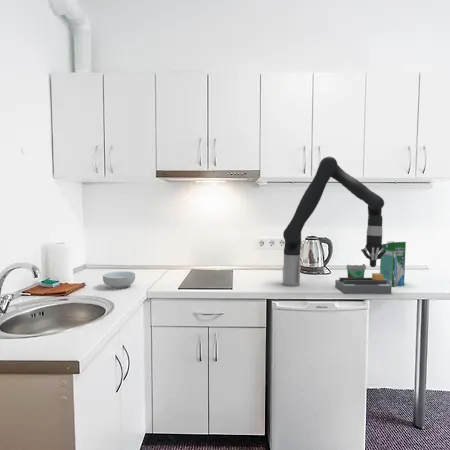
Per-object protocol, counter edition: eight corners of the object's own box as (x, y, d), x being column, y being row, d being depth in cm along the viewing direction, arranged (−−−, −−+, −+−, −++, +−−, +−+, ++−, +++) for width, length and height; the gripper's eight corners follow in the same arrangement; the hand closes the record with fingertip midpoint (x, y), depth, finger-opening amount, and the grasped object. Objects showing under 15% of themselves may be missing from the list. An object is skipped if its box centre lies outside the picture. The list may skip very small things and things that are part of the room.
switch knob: (375, 283, 173) (375, 274, 173) (371, 281, 177) (372, 273, 177) (383, 283, 173) (383, 274, 173) (379, 281, 177) (379, 273, 177)
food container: (352, 283, 191) (352, 266, 190) (345, 281, 197) (346, 264, 196) (370, 282, 194) (370, 265, 194) (363, 280, 200) (363, 263, 199)
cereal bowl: (101, 291, 170) (101, 278, 170) (104, 284, 186) (103, 272, 186) (135, 289, 175) (135, 276, 175) (135, 282, 191) (135, 270, 191)
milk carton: (391, 281, 195) (392, 239, 194) (404, 285, 187) (405, 241, 186) (379, 283, 192) (380, 240, 191) (392, 286, 184) (393, 242, 182)
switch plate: (344, 293, 168) (344, 282, 168) (335, 287, 182) (335, 276, 182) (391, 293, 168) (391, 282, 168) (378, 287, 182) (378, 276, 182)
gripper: (364, 234, 170) (363, 268, 171) (390, 235, 170) (388, 268, 171) (358, 233, 177) (357, 265, 179) (383, 234, 178) (381, 265, 179)
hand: (372, 266), depth 175 cm, fingers closed
